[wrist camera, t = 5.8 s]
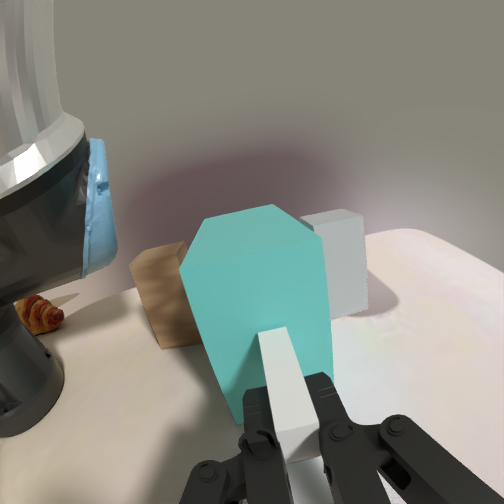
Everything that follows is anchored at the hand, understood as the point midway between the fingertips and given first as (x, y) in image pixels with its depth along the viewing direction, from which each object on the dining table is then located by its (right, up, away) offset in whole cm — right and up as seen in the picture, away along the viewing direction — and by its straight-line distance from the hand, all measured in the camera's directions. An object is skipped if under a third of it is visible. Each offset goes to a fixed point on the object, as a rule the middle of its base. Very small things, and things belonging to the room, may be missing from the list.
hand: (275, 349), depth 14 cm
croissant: (-42, -9, +23) cm, 49 cm away
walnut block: (-9, -4, +15) cm, 18 cm away
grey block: (+8, -1, +15) cm, 17 cm away
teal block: (0, -4, +9) cm, 10 cm away
